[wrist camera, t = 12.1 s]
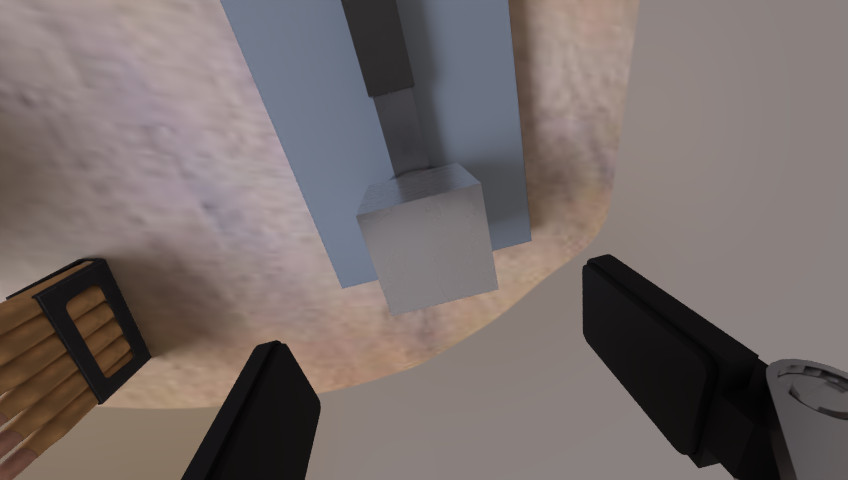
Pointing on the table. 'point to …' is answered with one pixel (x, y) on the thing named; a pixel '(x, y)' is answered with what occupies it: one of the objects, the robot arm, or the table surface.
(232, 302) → the table surface
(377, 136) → the slate board
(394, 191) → the matte grey cube
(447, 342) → the table surface
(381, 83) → the ratchet
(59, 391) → the ammunition clip
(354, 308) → the table surface
